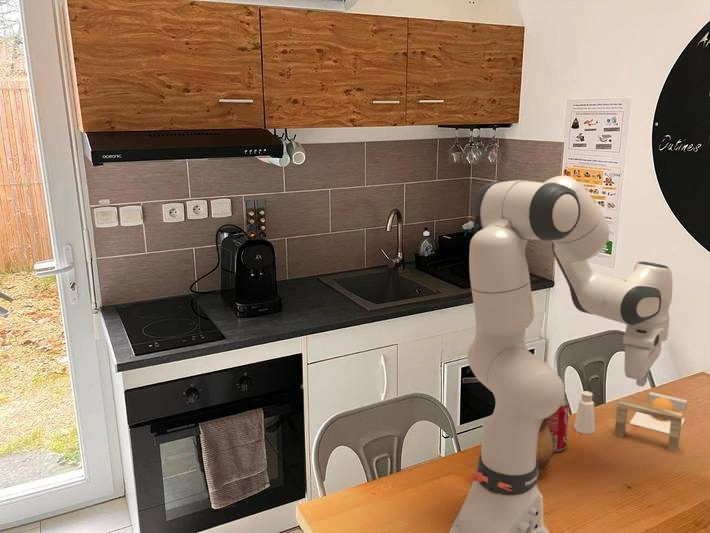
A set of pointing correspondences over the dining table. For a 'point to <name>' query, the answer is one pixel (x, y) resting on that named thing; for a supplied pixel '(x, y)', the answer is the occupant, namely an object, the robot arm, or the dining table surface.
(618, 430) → the bridge
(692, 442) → the dining table surface
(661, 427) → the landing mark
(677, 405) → the wooden block bar
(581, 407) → the salt shaker
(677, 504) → the dining table surface
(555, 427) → the soda can
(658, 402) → the ball
